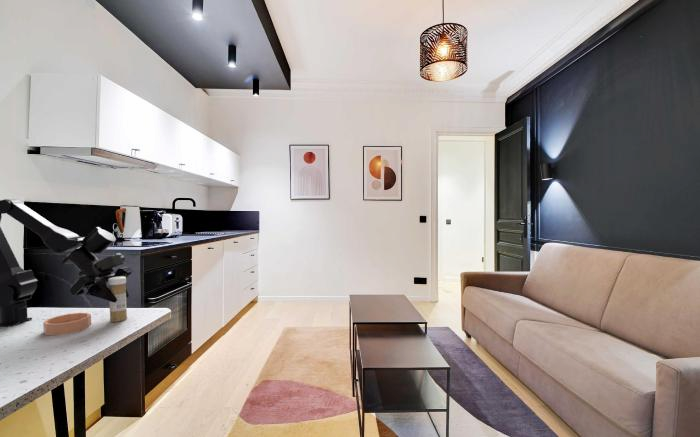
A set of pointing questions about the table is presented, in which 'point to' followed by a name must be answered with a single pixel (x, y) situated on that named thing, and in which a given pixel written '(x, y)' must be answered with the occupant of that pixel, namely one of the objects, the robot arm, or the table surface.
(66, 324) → the terracotta bowl
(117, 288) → the sprinkles bottle
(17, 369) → the table surface
